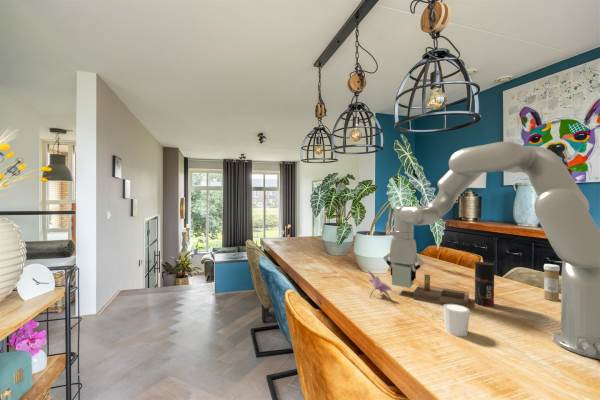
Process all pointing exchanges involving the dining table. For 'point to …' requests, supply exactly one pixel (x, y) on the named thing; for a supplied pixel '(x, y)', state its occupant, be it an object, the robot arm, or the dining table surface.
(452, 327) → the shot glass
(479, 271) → the deodorant
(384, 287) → the lily
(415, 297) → the board
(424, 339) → the dining table surface
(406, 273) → the green block
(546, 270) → the sprinkles bottle
